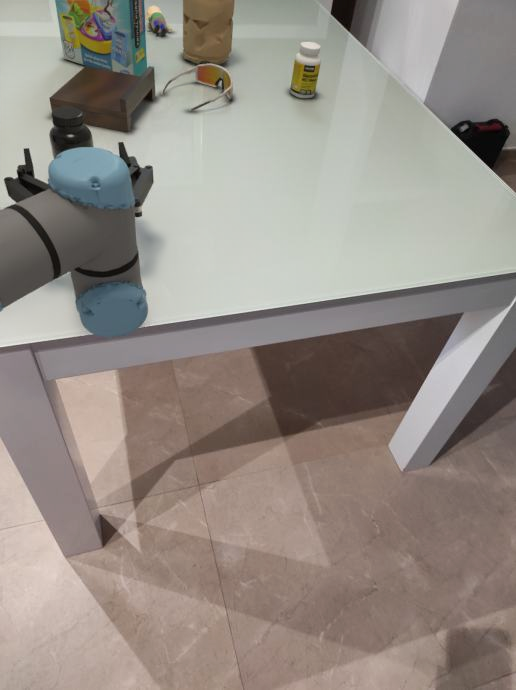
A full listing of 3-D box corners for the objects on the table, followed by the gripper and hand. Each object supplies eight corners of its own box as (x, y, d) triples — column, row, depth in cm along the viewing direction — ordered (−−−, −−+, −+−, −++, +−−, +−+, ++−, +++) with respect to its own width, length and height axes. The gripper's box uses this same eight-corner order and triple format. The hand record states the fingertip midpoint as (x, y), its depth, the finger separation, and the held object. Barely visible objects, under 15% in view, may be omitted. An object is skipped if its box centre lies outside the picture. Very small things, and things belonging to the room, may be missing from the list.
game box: (63, 60, 125) (39, -83, 105) (79, 52, 129) (60, -86, 109) (133, 83, 120) (123, -61, 100) (149, 74, 124) (142, -66, 104)
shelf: (52, 117, 105) (46, 85, 100) (87, 84, 117) (83, 53, 112) (128, 132, 105) (125, 100, 100) (155, 97, 117) (154, 67, 112)
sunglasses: (244, 99, 121) (244, 77, 117) (196, 123, 114) (194, 102, 110) (204, 77, 126) (202, 56, 122) (156, 100, 120) (153, 78, 116)
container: (175, 61, 132) (174, -22, 118) (192, 46, 140) (193, -34, 127) (222, 72, 130) (226, -12, 117) (236, 56, 139) (242, -24, 125)
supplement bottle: (104, 185, 91) (95, 118, 82) (66, 193, 88) (53, 125, 79) (89, 166, 94) (79, 100, 86) (52, 174, 91) (38, 106, 83)
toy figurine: (170, 44, 145) (162, 26, 151) (177, 28, 142) (168, 11, 149) (143, 30, 140) (136, 12, 147) (150, 14, 137) (142, -4, 144)
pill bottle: (299, 100, 124) (307, 51, 116) (285, 90, 127) (292, 41, 119) (319, 97, 126) (328, 48, 118) (305, 87, 130) (313, 39, 121)
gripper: (-3, 273, 64) (-7, 183, 77) (191, 247, 72) (158, 169, 84) (-21, 222, 59) (-22, 134, 71) (191, 200, 66) (156, 124, 79)
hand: (76, 153), depth 78 cm, fingers open, 13 cm apart
